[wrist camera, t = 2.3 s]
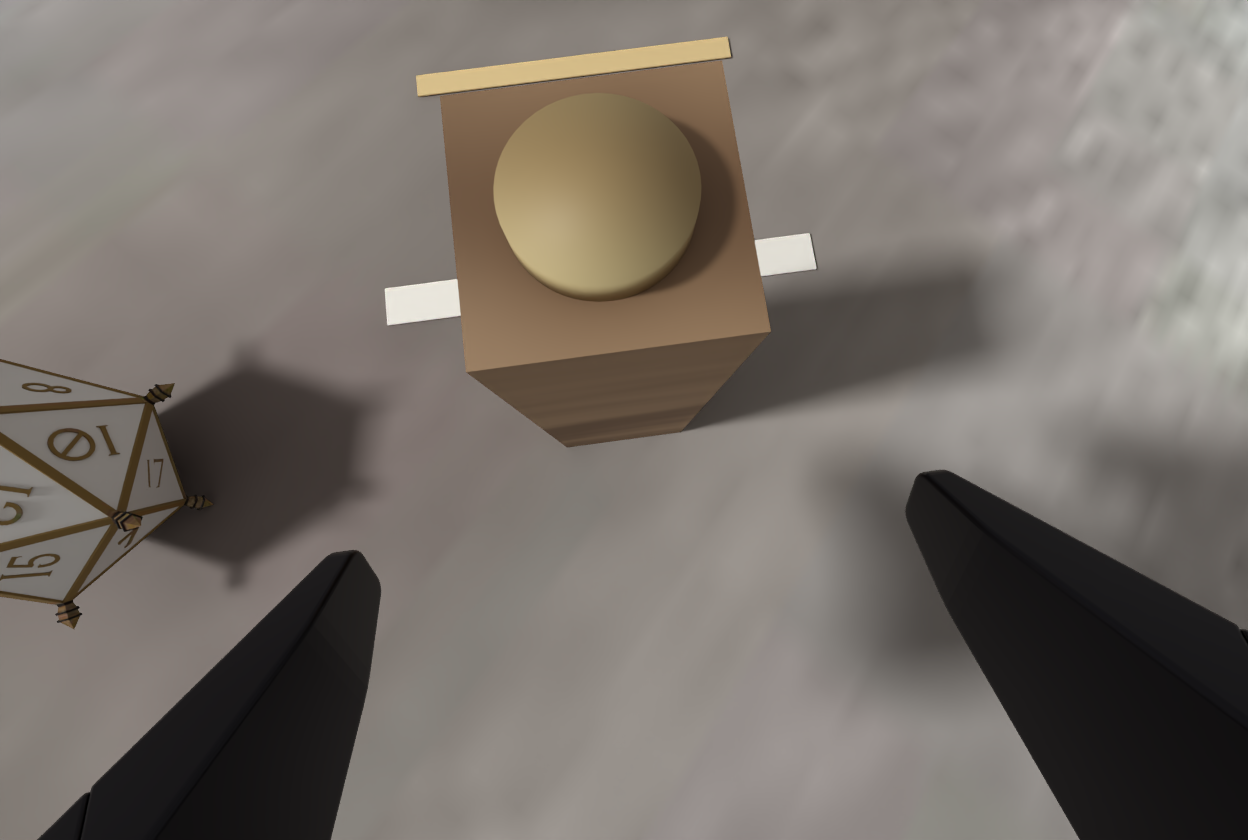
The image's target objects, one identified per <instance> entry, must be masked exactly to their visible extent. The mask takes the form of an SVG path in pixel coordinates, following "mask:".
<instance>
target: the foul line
mask: <svg viewBox="0 0 1248 840" xmlns="http://www.w3.org/2000/svg"><path fill="white" fill-rule="evenodd" d="M754 241H755V246H756V252H757V257H758V263H759V268H760V274H761V277H762V276H770V275H777V274H785V273H792V272H800V271H808V270H815V269H817V268H816V263H815V258H814V253H813V248H812V243H811V238H810V233H807V234H799V235H791V236H784V237H776V238H769V239H761V240H754ZM385 299H386V312H387V325H388V326H389V325H397V324H405V323H412V322H420V321H427V320H435V319H443V318H450V317H458V316H461V313H460V302H459V292H458V281H457V279H454V280H447V281H439V282H431V283H424V284H416V285H408V286H401V287H393V288H385Z"/></svg>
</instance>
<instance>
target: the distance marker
mask: <svg viewBox="0 0 1248 840" xmlns="http://www.w3.org/2000/svg"><path fill="white" fill-rule="evenodd" d="M724 58H731V54H730V48H729V43H728V37H721V38H713V39H705V40H697V41H689V42H681V43H673V44H665V45H657V46H649V47H641V48H633V49H625V50H617V51H609V52H601V53H593V54H585V55H577V56H569V57H561V58H553V59H545V60H537V61H529V62H521V63H513V64H505V65H498V66H490V67H482V68H474V69H466V70H458V71H450V72H442V73H434V74H426V75H418V76H416V80H417V91H418V97H421V96H429V95H437V94H445V93H453V92H461V91H469V90H477V89H485V88H493V87H501V86H509V85H517V84H525V83H533V82H540V81H548V80H556V79H564V78H572V77H580V76H588V75H596V74H604V73H612V72H620V71H628V70H636V69H644V68H652V67H660V66H668V65H676V64H684V63H692V62H700V61H708V60H716V59H724Z"/></svg>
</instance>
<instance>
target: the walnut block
mask: <svg viewBox="0 0 1248 840" xmlns="http://www.w3.org/2000/svg"><path fill="white" fill-rule="evenodd" d="M440 101H441V111H442V122H443V133H444V143H445V154H446V164H447V175H448V186H449V196H450V207H451V217H452V228H453V239H454V249H455V260H456V270H457V281H458V292H459V302H460V313H461V324H462V334H463V345H464V355H465V366H466V372H467V373H468V374H469V375H471V376H472V377H473V378H475V379H476V380H477V381H479V382H480V383H481V384H483V385H484V386H485V387H487V388H488V389H489V390H491V391H492V392H493V393H495V394H496V395H498V396H499V397H500V398H502V399H503V400H504V401H506V402H507V403H508V404H510V405H511V406H512V407H514V408H515V409H516V410H518V411H519V412H520V413H522V414H523V415H524V416H526V417H527V418H528V419H530V420H531V421H532V422H534V423H535V424H536V425H538V426H539V427H541V428H542V429H543V430H545V431H546V432H547V433H549V434H550V435H551V436H553V437H554V438H555V439H557V440H558V441H559V442H561V443H562V444H563V445H565V446H566V447H573V446H581V445H588V444H595V443H603V442H610V441H618V440H625V439H632V438H640V437H647V436H655V435H662V434H669V433H677V432H681V431H682V430H683V429H684V428H685V427H686V426H687V424H688V423H689V422H690V421H691V420H692V419H693V418H694V417H695V416H696V414H697V413H698V412H699V411H700V410H701V409H702V408H703V407H704V406H705V404H706V403H707V402H708V401H709V400H710V399H711V398H712V397H713V396H714V394H715V393H716V392H717V391H718V390H719V389H720V388H721V387H722V386H723V384H724V383H725V382H726V381H727V380H728V379H729V378H730V377H731V376H732V374H733V373H734V372H735V371H736V370H737V369H738V368H739V367H740V366H741V364H742V363H743V362H744V361H745V360H746V359H747V358H748V357H749V356H750V354H751V353H752V352H753V351H754V350H755V349H756V348H757V347H758V345H759V344H760V343H761V342H762V341H763V340H764V339H765V338H766V337H767V335H768V334H769V333H770V332H771V329H770V323H769V318H768V312H767V307H766V301H765V296H764V290H763V285H762V279H761V274H760V268H759V263H758V257H757V252H756V246H755V241H754V235H753V230H752V224H751V219H750V213H749V208H748V202H747V196H746V191H745V185H744V180H743V174H742V169H741V163H740V158H739V152H738V147H737V141H736V136H735V130H734V125H733V119H732V114H731V108H730V103H729V97H728V92H727V86H726V81H725V75H724V70H723V64H722V61H715V62H707V63H699V64H691V65H683V66H675V67H667V68H660V69H652V70H644V71H636V72H628V73H620V74H612V75H604V76H596V77H588V78H580V79H572V80H564V81H556V82H548V83H540V84H532V85H524V86H517V87H509V88H501V89H493V90H485V91H477V92H469V93H461V94H453V95H445V96H440Z"/></svg>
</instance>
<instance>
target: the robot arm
mask: <svg viewBox="0 0 1248 840" xmlns="http://www.w3.org/2000/svg"><path fill="white" fill-rule="evenodd" d="M905 513H906V518H907V522H908V524H909V526H910V529H911V531H912V533H913V535H914V538H915V540H916V542H917V544H918V547H919V549H920V551H921V553H922V556H923V558H924V560H925V562H926V565H927V567H928V569H929V571H930V574H931V576H932V578H933V580H934V583H935V585H936V587H937V589H938V592H939V594H940V596H941V598H942V600H943V602H944V604H945V606H946V608H947V610H948V612H949V614H950V615H951V617H952V619H953V621H954V623H955V624H956V626H957V628H958V630H959V631H960V633H961V635H962V637H963V638H964V640H965V642H966V644H967V645H968V647H969V649H970V650H971V652H972V654H973V656H974V657H975V659H976V661H977V663H978V664H979V666H980V668H981V669H982V671H983V673H984V675H985V676H986V678H987V680H988V682H989V683H990V685H991V687H992V689H993V690H994V692H995V694H996V695H997V697H998V699H999V701H1000V702H1001V704H1002V706H1003V708H1004V709H1005V711H1006V713H1007V715H1008V716H1009V718H1010V720H1011V721H1012V723H1013V725H1014V727H1015V728H1016V730H1017V732H1018V734H1019V735H1020V737H1021V739H1022V741H1023V742H1024V744H1025V746H1026V747H1027V749H1028V751H1029V753H1030V754H1031V756H1032V758H1033V760H1034V761H1035V763H1036V765H1037V766H1038V768H1039V770H1040V772H1041V773H1042V775H1043V777H1044V779H1045V780H1046V782H1047V784H1048V786H1049V787H1050V789H1051V791H1052V792H1053V794H1054V796H1055V798H1056V799H1057V801H1058V803H1059V805H1060V806H1061V808H1062V810H1063V812H1064V813H1065V815H1066V817H1067V818H1068V820H1069V822H1070V824H1071V825H1072V827H1073V829H1074V831H1075V832H1076V834H1077V836H1078V838H1079V839H1080V840H1248V630H1245V629H1239V628H1238V626H1237V625H1236V624H1234V623H1232V622H1230V621H1229V620H1227V619H1225V618H1223V617H1221V616H1219V615H1217V614H1215V613H1214V612H1212V611H1210V610H1208V609H1206V608H1204V607H1202V606H1201V605H1199V604H1197V603H1195V602H1193V601H1191V600H1189V599H1187V598H1186V597H1184V596H1182V595H1180V594H1178V593H1176V592H1174V591H1173V590H1171V589H1169V588H1167V587H1165V586H1163V585H1161V584H1159V583H1158V582H1156V581H1154V580H1152V579H1150V578H1148V577H1146V576H1145V575H1143V574H1141V573H1139V572H1137V571H1135V570H1133V569H1131V568H1130V567H1128V566H1126V565H1124V564H1122V563H1120V562H1118V561H1117V560H1115V559H1113V558H1111V557H1109V556H1107V555H1105V554H1103V553H1102V552H1100V551H1098V550H1096V549H1094V548H1092V547H1090V546H1089V545H1087V544H1085V543H1083V542H1081V541H1079V540H1077V539H1075V538H1074V537H1072V536H1070V535H1068V534H1066V533H1064V532H1062V531H1061V530H1059V529H1057V528H1055V527H1053V526H1051V525H1049V524H1047V523H1046V522H1044V521H1042V520H1040V519H1038V518H1036V517H1034V516H1033V515H1031V514H1029V513H1027V512H1025V511H1023V510H1021V509H1019V508H1018V507H1016V506H1014V505H1012V504H1010V503H1008V502H1006V501H1005V500H1003V499H1001V498H999V497H997V496H995V495H993V494H991V493H990V492H988V491H986V490H984V489H982V488H980V487H978V486H977V485H975V484H973V483H971V482H969V481H967V480H965V479H963V478H962V477H960V476H958V475H956V474H954V473H952V472H950V471H947V470H936V471H929V472H922V473H920V474H919V475H918V476H917V477H916V479H915V481H914V484H913V487H912V490H911V493H910V496H909V499H908V501H907V504H906V511H905ZM380 597H381V586H380V582H379V579H378V577H377V576H376V574H375V573H374V571H373V570H372V568H371V567H370V565H369V563H368V562H367V560H366V559H365V557H364V556H363V554H362V553H361V552H359V551H357V550H349V551H342V552H335V553H332V554H330V555H328V556H327V557H326V558H325V559H324V560H322V561H321V562H320V563H319V564H318V565H317V566H316V567H315V568H314V569H313V570H312V571H311V572H310V573H309V574H308V575H307V576H306V577H305V578H304V579H303V580H302V581H301V582H300V583H299V584H298V585H297V586H296V587H295V588H294V589H293V590H292V591H291V592H290V593H289V594H288V595H287V596H286V597H285V598H284V599H283V600H282V601H281V602H280V603H279V604H278V605H277V606H276V607H275V608H274V609H273V610H271V611H270V612H269V613H268V614H267V615H266V616H265V617H264V618H263V619H262V620H261V621H260V622H259V623H258V624H257V625H256V626H255V627H254V628H253V629H252V630H251V631H250V632H249V633H248V634H247V635H246V636H245V637H244V638H243V639H242V640H241V641H240V642H239V643H238V644H237V645H236V646H235V647H234V648H233V649H232V650H231V651H230V652H229V653H228V654H227V655H226V656H225V657H224V658H223V659H222V660H220V661H219V662H218V663H217V664H216V665H215V666H214V667H213V668H212V669H211V670H210V671H209V672H208V673H207V674H206V675H205V676H204V677H203V678H202V679H201V680H200V681H199V682H198V683H197V684H196V685H195V686H194V687H193V688H192V689H191V690H190V691H189V692H188V693H187V694H186V695H185V696H184V697H183V698H182V699H181V700H180V701H179V702H178V703H177V704H176V705H175V706H174V707H173V708H172V709H171V710H169V711H168V712H167V713H166V714H165V715H164V716H163V717H162V718H161V719H160V720H159V721H158V722H157V723H156V724H155V725H154V726H153V727H152V728H151V729H150V730H149V731H148V732H147V733H146V734H145V735H144V736H143V737H142V738H141V739H140V740H139V741H138V742H137V743H136V744H135V745H134V746H133V747H132V748H131V749H130V750H129V751H128V752H127V753H126V754H125V755H124V756H123V757H122V758H121V759H120V760H118V761H117V762H116V763H115V764H114V765H113V766H112V767H111V768H110V769H109V770H108V771H107V772H106V773H105V774H104V775H103V776H102V777H101V778H100V779H99V780H98V781H97V782H96V783H95V784H94V785H93V786H92V788H91V791H90V792H88V793H85V794H84V795H83V796H81V797H80V798H79V799H78V800H77V801H76V802H75V803H74V804H73V805H72V806H71V807H70V808H69V809H68V810H67V811H66V812H65V813H64V814H63V815H62V816H61V817H60V818H59V819H58V820H57V821H56V822H55V823H54V824H53V825H52V826H51V827H50V828H49V829H48V830H47V831H46V832H45V833H44V834H43V835H41V836H40V837H39V838H38V839H37V840H331V836H332V832H333V828H334V824H335V820H336V816H337V812H338V808H339V804H340V800H341V796H342V792H343V788H344V783H345V779H346V775H347V771H348V767H349V763H350V759H351V755H352V751H353V747H354V743H355V739H356V735H357V731H358V727H359V723H360V719H361V715H362V711H363V707H364V702H365V698H366V693H367V689H368V683H369V677H370V671H371V663H372V656H373V649H374V641H375V634H376V627H377V619H378V612H379V605H380Z"/></svg>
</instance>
